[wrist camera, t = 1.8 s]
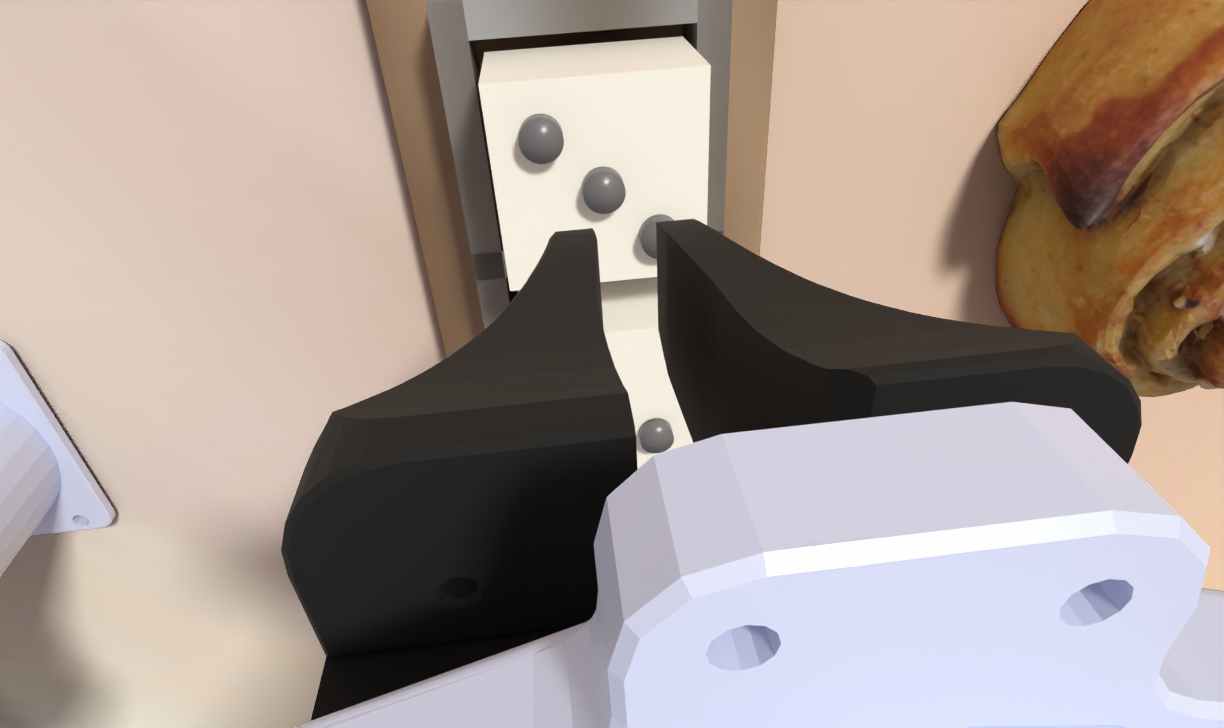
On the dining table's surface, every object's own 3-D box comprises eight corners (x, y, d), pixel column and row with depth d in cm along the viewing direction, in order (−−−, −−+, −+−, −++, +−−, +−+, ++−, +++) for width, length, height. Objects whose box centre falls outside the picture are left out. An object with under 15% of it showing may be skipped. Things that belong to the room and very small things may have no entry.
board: (491, 538, 29) (489, 595, 27) (360, -61, 17) (336, -49, 15) (734, 509, 30) (752, 563, 28) (771, -89, 18) (808, -82, 15)
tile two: (536, 412, 23) (539, 489, 20) (518, 283, 20) (517, 350, 17) (681, 397, 23) (704, 470, 20) (681, 266, 20) (707, 331, 17)
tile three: (511, 236, 19) (509, 299, 16) (484, 51, 16) (477, 89, 14) (682, 220, 19) (709, 280, 17) (682, 36, 17) (715, 70, 14)
